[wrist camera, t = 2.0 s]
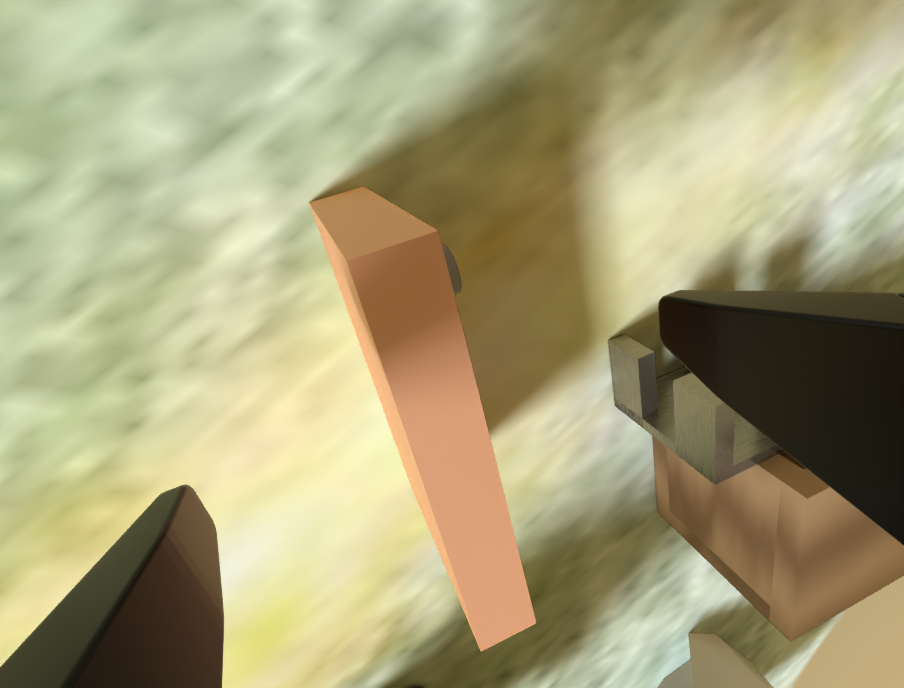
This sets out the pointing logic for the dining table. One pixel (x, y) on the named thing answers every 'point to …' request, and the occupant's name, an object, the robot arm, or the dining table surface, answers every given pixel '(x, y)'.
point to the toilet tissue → (714, 667)
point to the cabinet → (779, 538)
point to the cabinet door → (429, 397)
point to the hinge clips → (684, 414)
